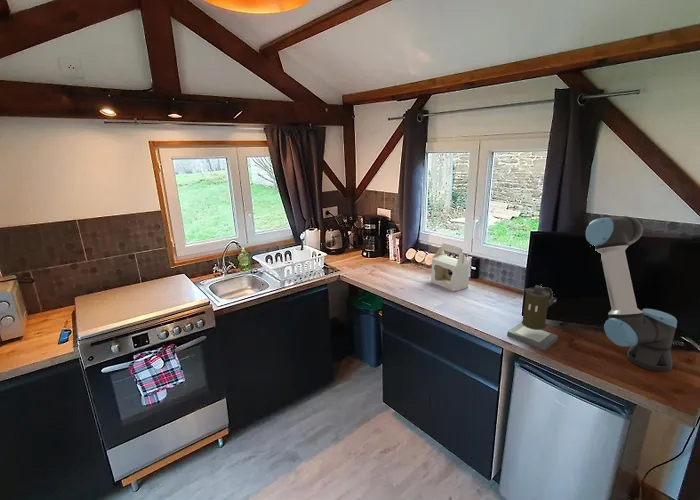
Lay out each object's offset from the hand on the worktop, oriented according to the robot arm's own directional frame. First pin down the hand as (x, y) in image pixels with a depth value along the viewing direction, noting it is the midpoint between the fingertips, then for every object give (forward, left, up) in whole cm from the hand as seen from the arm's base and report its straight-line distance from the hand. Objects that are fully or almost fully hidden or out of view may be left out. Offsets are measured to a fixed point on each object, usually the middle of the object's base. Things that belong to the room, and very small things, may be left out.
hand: (532, 308), depth 167 cm
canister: (+1, -6, -11) cm, 13 cm away
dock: (+1, -5, -18) cm, 19 cm away
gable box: (+71, -35, -18) cm, 81 cm away
